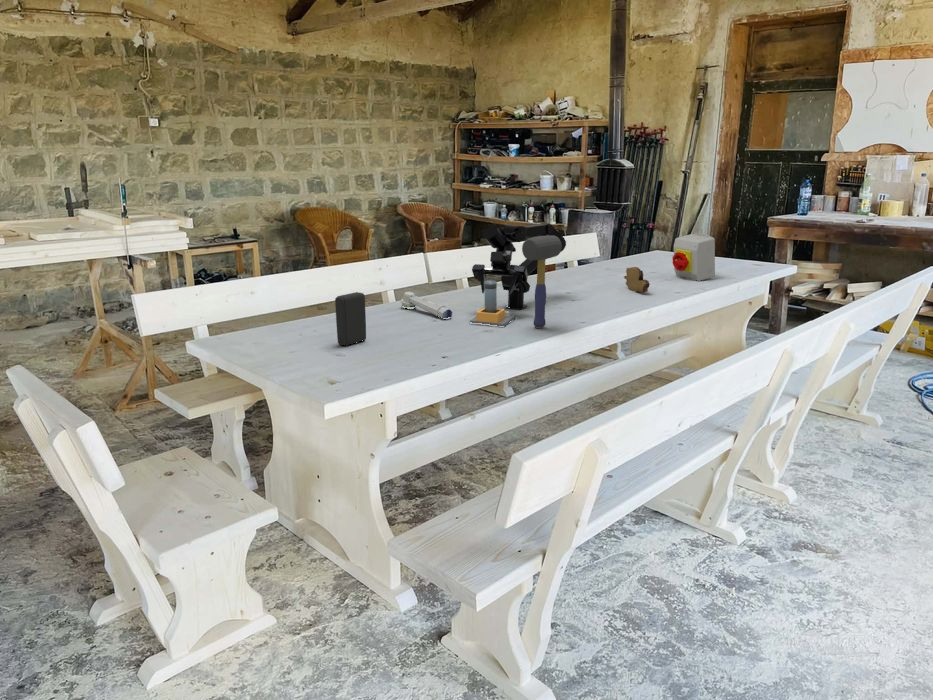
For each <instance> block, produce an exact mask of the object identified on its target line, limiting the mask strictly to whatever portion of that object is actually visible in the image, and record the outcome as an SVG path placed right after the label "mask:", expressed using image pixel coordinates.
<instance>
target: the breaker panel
mask: <svg viewBox="0 0 933 700" xmlns="http://www.w3.org/2000/svg"><path fill="white" fill-rule="evenodd" d="M505 309H506V308H505ZM505 309H504V308H497V313H486V312H485V306H484V307H483V308H481V309H479V310H477V311H476V313H475V317H473V318H472V319H470V320H469V323H470V322H472V323H482V324H490V325H497V326H505V325H506V324H508V323H509V322H510V321H512V320H513V319H514V318H515V319H516V315H510V311H508V310H507V311H506V310H505ZM515 319H514V320H515ZM514 320H513V321H514ZM513 321H512V322H513ZM510 323H511V322H510ZM510 323H509V324H510ZM509 324H508V325H509ZM505 327H506V326H505Z"/></svg>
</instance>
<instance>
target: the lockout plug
mask: <svg viewBox="0 0 933 700" xmlns="http://www.w3.org/2000/svg"><path fill="white" fill-rule="evenodd" d="M497 284H498V283H497V280H495V279H486V281H484V293H483V294H484V307H485V312H486V313H497V309H498V307H497V303H498V302H497V299H498V298H497V297H498V296H497V294H498V293H497Z"/></svg>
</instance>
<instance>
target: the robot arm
mask: <svg viewBox="0 0 933 700" xmlns="http://www.w3.org/2000/svg"><path fill="white" fill-rule="evenodd" d="M552 235H554V236H557V237H558V238H559V239H560V241H561V244H562V249H561V252H560V253H562V252H564V250H565V249H566V246H567V241H566V239H565V237H564V236H563V234H562V233H561V232H560V231H558V230H557V229H556V228H555V227H554V226H553V224H551V223H545V222H540V223H536V224H530V225H529V224H528V225H515V224H505V225H504V226H503V228H502V227H500V224H499V223H493V224H492V225H491V226H489V227H488V226H487V228H486V229H485V230H484V231H483V233H482V237H483V239H484V240H485V241H486V242H487V243H488V245H490V246H491V248H493V249H495V251H490V266H491V268H486V266H485V264H480V263H479V264H477V263H476V264H473V265H472V267H471V271H472V275H473V277H474V279H475V280H476V281H478V282H480V287H481V293H482V294H484V281H486V280H487V275H490V276H500V281H501V286H502V289H503V290H504V291H507V293H508V294H507V298H508V300H507V305H508V307H510V308H509V309H511V308H519V309H518V310H523V309H524V308H525V306H526V307H527V304H526V303H525V304H524V302H525V301H524V299H525V294H526V293H528V292H529V291H530V289H531V285H530V283H529V282H528V277H529V275H530V274H531V273H532V272H534V271H535V270H537V268H538V260H528V259H526V258H525V260H524V261H522V262H521V263H520V264H519V265H517V264H511V262H512V257H513V256H512V255H513V253H515V252H517V249H516V247H515V246H514V243H520V242H524V241H525V240H527V239H528V238H533V237H538V236H552ZM512 242H513V243H512ZM546 260H547V259H545V261H546ZM522 308H523V309H522Z"/></svg>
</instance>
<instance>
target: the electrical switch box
mask: <svg viewBox="0 0 933 700" xmlns="http://www.w3.org/2000/svg"><path fill="white" fill-rule="evenodd" d="M674 239H675V240H674V244H673V255H672V259H671V260H672V265H673V270H674V273H675V275H676V276H677V277H679V276H681V277H680V278H683V277H685V278H684V279H687V278H688V279H687V280H691V279H693V280H692V281H695V280H697V281H696V282H702V281H704V280H708V279H711V278H712V279H713V278H715V276H716V260H715V259H716V255H715V253H716V252H715V250H716V248H715V247H716V244H715V241H716V239H715V238H714V237H713V236H710V235H708V234H706V233H704V232H703V233H702V232H700V233H691V234H687V235H683V236H678V237H676V238H674ZM701 280H702V281H701Z"/></svg>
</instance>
